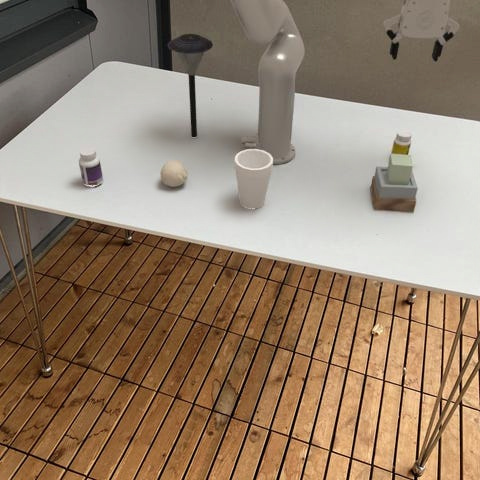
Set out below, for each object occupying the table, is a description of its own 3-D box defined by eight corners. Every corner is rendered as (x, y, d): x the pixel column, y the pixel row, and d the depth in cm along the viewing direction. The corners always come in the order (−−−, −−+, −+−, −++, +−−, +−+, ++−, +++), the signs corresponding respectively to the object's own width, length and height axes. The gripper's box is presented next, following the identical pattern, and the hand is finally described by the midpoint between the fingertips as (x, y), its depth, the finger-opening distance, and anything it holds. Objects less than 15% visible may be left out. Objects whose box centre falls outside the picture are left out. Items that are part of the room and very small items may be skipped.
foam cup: (258, 217, 143) (260, 174, 135) (227, 205, 147) (227, 162, 138) (276, 198, 149) (279, 156, 141) (246, 187, 153) (247, 145, 144)
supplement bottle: (406, 164, 163) (413, 138, 157) (390, 162, 163) (395, 136, 158) (406, 155, 166) (412, 130, 161) (390, 153, 167) (395, 128, 161)
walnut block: (373, 210, 147) (376, 198, 144) (370, 188, 154) (372, 175, 152) (412, 213, 146) (416, 201, 143) (407, 190, 154) (410, 178, 151)
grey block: (378, 197, 144) (381, 186, 142) (374, 177, 151) (376, 166, 149) (414, 199, 144) (417, 187, 142) (408, 178, 151) (411, 167, 149)
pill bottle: (107, 178, 155) (102, 147, 148) (97, 189, 151) (91, 158, 145) (89, 174, 156) (83, 144, 150) (79, 185, 152) (72, 154, 146)
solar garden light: (205, 150, 166) (203, 50, 147) (167, 142, 169) (159, 43, 150) (220, 130, 175) (219, 33, 156) (183, 123, 178) (178, 27, 158)
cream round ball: (182, 194, 150) (181, 173, 146) (157, 188, 152) (155, 167, 148) (192, 180, 155) (191, 159, 150) (168, 174, 157) (166, 153, 152)
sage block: (387, 184, 144) (392, 164, 140) (386, 173, 148) (390, 153, 144) (407, 186, 144) (412, 166, 140) (406, 174, 147) (410, 155, 143)
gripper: (393, -13, 123) (379, 63, 134) (474, -10, 123) (453, 66, 134) (388, -24, 129) (375, 50, 140) (466, -21, 128) (447, 53, 139)
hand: (413, 58), depth 137 cm, fingers open, 9 cm apart
